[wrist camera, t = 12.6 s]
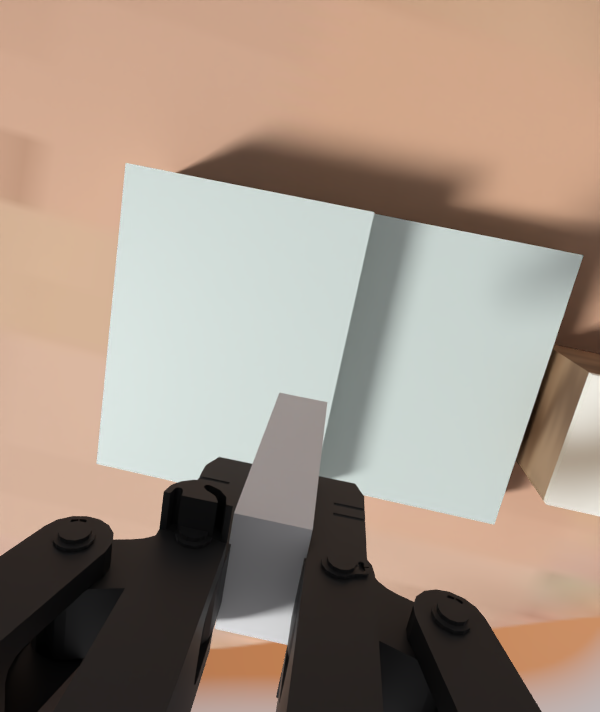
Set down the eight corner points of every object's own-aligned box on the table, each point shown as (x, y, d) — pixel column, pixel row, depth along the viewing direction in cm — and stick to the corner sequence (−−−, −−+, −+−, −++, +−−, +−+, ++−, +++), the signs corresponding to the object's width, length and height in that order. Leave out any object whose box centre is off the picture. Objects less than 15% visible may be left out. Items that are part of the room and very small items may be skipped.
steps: (171, 174, 31) (125, 162, 25) (559, 251, 30) (613, 259, 24) (141, 421, 35) (96, 463, 29) (481, 497, 34) (509, 557, 28)
